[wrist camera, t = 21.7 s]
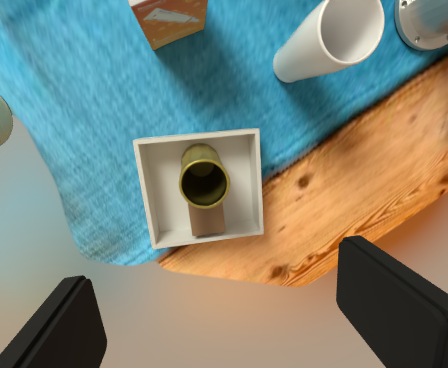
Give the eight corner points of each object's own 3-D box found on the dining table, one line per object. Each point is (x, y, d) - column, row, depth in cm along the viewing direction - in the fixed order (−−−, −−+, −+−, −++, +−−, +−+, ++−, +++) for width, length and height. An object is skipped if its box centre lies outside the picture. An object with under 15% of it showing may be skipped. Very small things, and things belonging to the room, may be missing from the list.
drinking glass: (318, 60, 36) (400, 19, 22) (290, 97, 37) (352, 81, 23) (285, 29, 35) (351, -38, 20) (258, 69, 36) (302, 32, 21)
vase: (202, 188, 38) (207, 224, 25) (172, 164, 37) (160, 187, 23) (227, 160, 38) (247, 181, 24) (198, 134, 36) (201, 141, 22)
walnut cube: (218, 190, 39) (222, 200, 34) (221, 218, 40) (225, 231, 35) (188, 194, 38) (187, 204, 34) (192, 222, 40) (192, 236, 35)
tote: (250, 128, 38) (259, 128, 33) (255, 221, 42) (263, 233, 37) (140, 138, 36) (132, 140, 31) (157, 234, 40) (152, 249, 35)
